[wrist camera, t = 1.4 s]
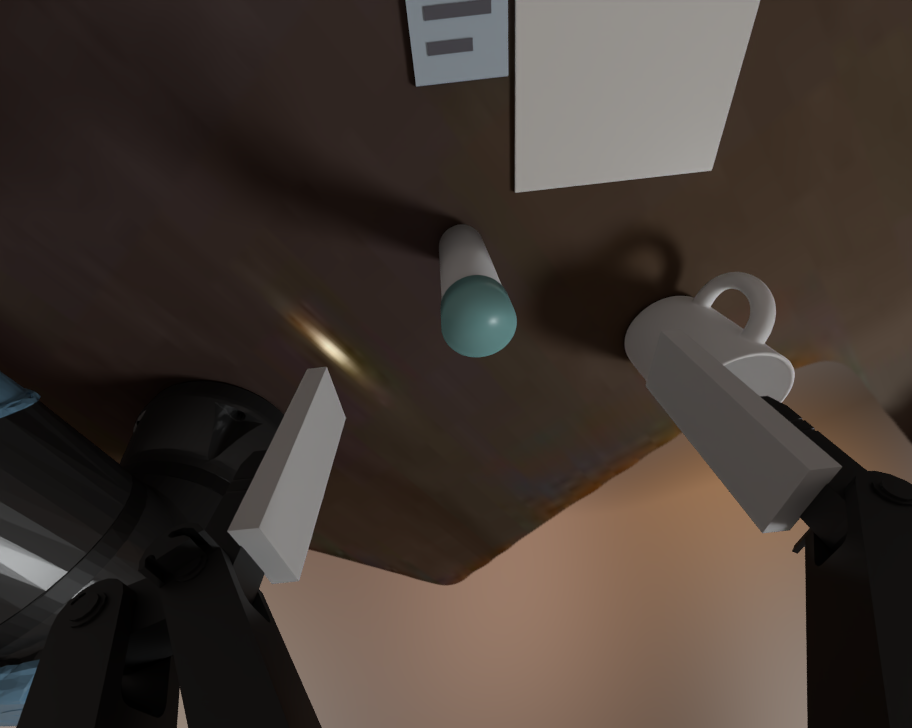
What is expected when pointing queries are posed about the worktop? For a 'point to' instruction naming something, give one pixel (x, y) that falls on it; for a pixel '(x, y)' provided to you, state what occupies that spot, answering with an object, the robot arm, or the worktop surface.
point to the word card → (458, 40)
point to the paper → (623, 87)
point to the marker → (472, 296)
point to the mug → (718, 333)
